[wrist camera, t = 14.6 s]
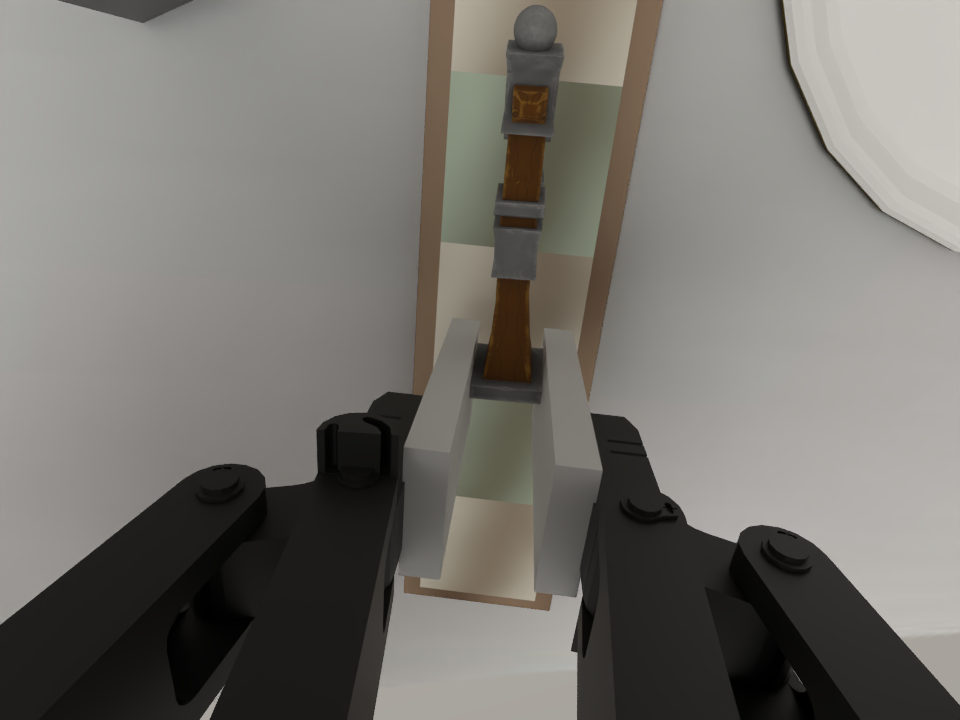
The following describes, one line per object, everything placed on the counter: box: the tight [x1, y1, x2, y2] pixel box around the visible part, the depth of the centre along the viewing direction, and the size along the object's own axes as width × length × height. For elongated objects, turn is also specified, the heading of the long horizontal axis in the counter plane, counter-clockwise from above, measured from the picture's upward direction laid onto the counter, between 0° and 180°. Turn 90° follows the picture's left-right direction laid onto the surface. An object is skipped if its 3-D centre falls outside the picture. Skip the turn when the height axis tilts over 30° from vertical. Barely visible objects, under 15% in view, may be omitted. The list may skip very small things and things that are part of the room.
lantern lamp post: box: [469, 5, 565, 404], centre depth 12 cm, size 4×2×8 cm
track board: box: [404, 0, 663, 611], centre depth 20 cm, size 6×26×1 cm, turn 175°
